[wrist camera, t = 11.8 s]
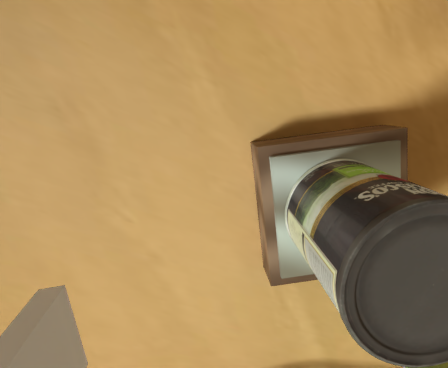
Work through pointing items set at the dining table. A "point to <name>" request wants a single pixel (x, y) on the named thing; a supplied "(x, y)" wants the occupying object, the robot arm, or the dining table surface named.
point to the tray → (295, 167)
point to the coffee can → (377, 257)
